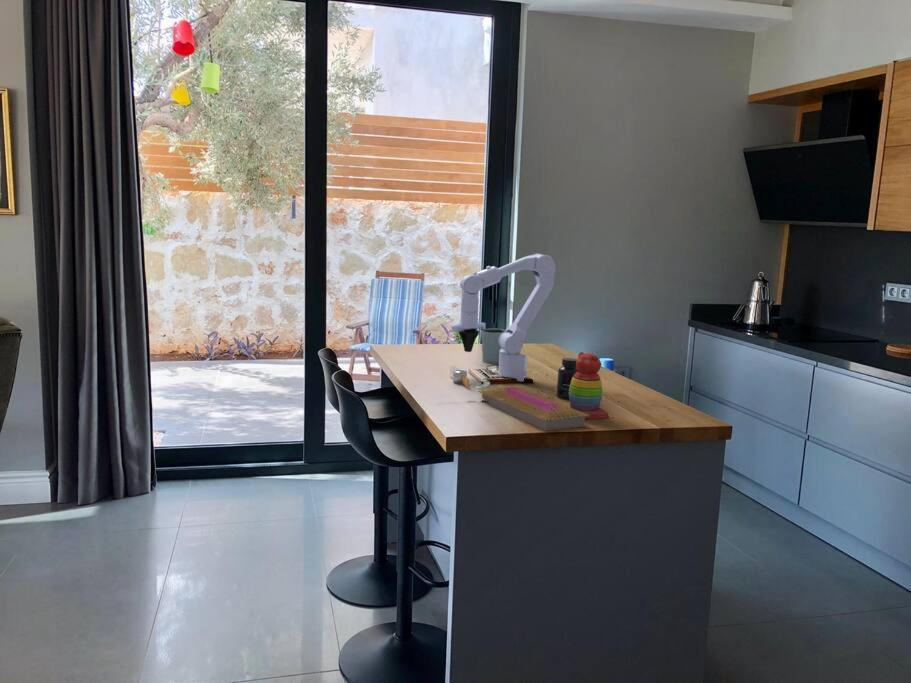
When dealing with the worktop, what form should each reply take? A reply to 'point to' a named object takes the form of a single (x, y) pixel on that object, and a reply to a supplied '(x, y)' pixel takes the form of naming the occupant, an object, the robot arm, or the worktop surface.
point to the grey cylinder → (491, 345)
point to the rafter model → (529, 399)
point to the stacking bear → (587, 387)
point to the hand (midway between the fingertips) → (468, 351)
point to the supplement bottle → (565, 377)
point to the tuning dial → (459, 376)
